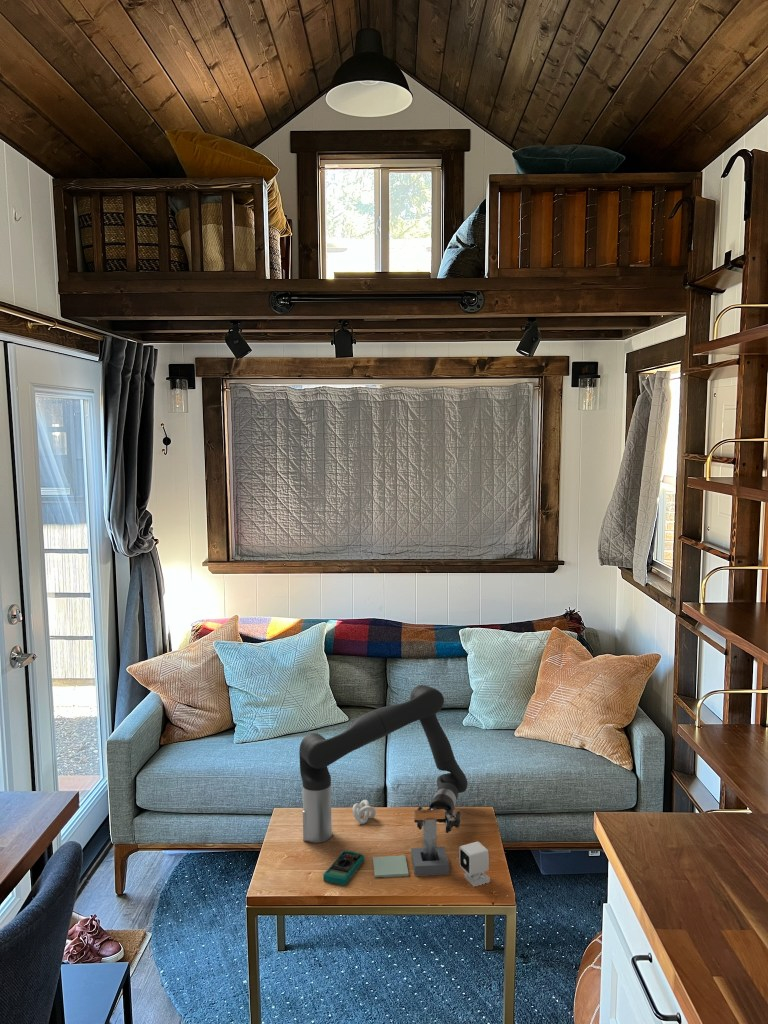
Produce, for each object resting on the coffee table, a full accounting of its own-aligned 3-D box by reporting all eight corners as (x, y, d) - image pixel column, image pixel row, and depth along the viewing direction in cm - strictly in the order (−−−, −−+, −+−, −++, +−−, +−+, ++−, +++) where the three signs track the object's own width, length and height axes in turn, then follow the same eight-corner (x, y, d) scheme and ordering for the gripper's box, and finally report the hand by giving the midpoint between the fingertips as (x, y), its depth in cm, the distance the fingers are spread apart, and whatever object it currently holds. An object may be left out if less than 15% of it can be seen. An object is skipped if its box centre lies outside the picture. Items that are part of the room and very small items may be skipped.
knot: (363, 828, 249) (363, 811, 249) (346, 821, 254) (345, 804, 254) (378, 820, 255) (378, 803, 254) (360, 812, 260) (360, 796, 259)
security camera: (459, 878, 219) (459, 845, 219) (479, 872, 222) (479, 839, 222) (470, 889, 214) (470, 855, 213) (491, 883, 217) (491, 850, 216)
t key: (415, 870, 224) (415, 815, 222) (414, 862, 228) (413, 808, 226) (445, 868, 224) (445, 813, 223) (443, 861, 228) (443, 807, 227)
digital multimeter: (365, 861, 230) (365, 852, 229) (345, 887, 216) (345, 877, 216) (343, 857, 232) (343, 848, 232) (322, 882, 218) (322, 873, 218)
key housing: (415, 876, 221) (415, 866, 220) (411, 857, 231) (411, 848, 230) (449, 874, 221) (449, 864, 221) (443, 855, 231) (443, 846, 231)
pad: (374, 877, 220) (374, 875, 220) (372, 859, 230) (372, 857, 230) (408, 876, 221) (408, 873, 220) (405, 857, 230) (405, 855, 230)
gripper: (421, 791, 248) (410, 813, 232) (464, 796, 244) (456, 819, 228) (422, 813, 248) (410, 837, 233) (464, 818, 244) (456, 843, 229)
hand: (433, 828), depth 231 cm, fingers open, 8 cm apart
